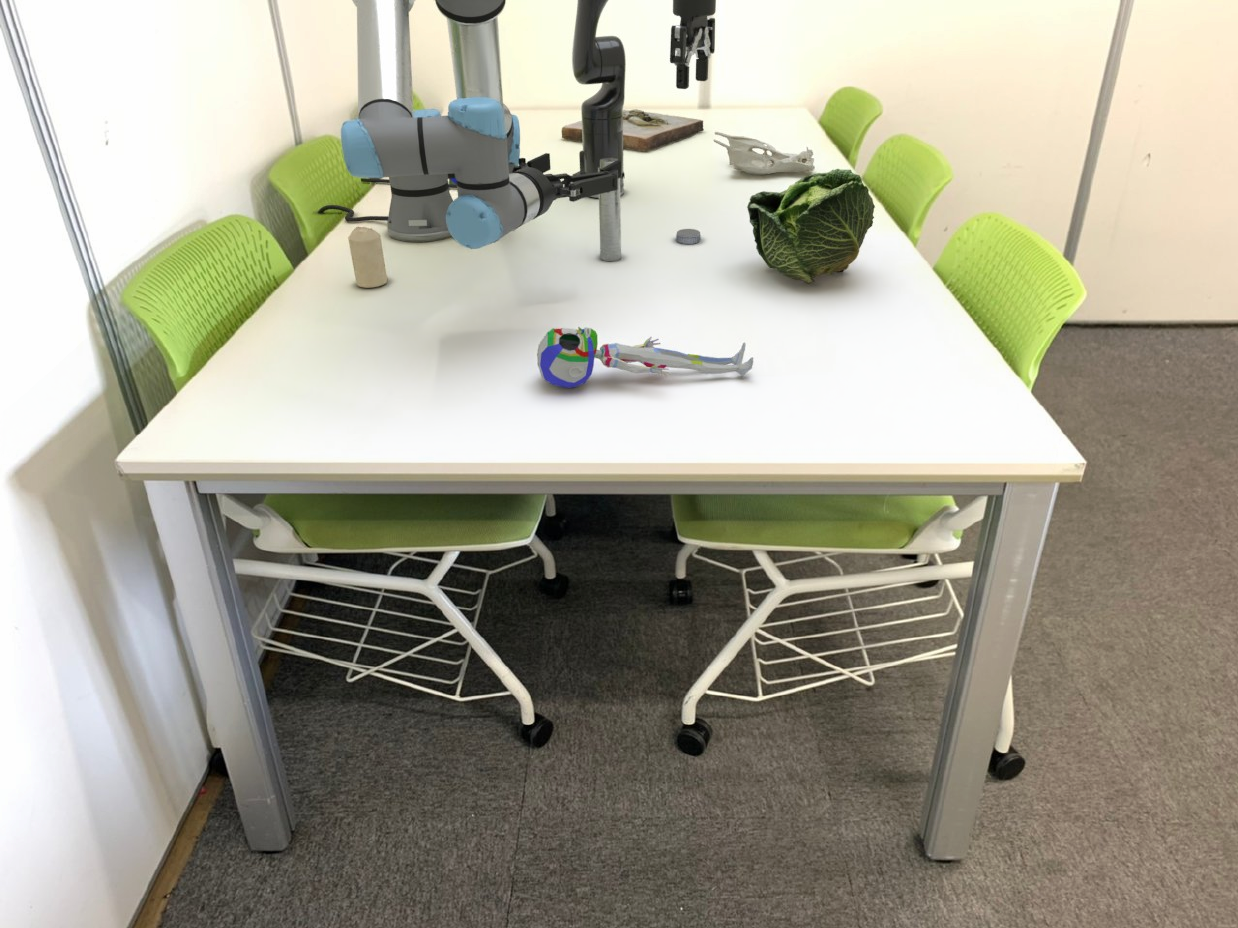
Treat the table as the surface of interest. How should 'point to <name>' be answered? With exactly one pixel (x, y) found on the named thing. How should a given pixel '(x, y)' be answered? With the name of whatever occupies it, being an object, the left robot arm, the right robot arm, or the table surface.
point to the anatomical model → (764, 157)
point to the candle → (367, 257)
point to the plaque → (645, 129)
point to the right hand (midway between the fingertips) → (692, 84)
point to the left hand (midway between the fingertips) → (583, 165)
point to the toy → (618, 358)
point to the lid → (688, 236)
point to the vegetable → (812, 224)
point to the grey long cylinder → (610, 220)
